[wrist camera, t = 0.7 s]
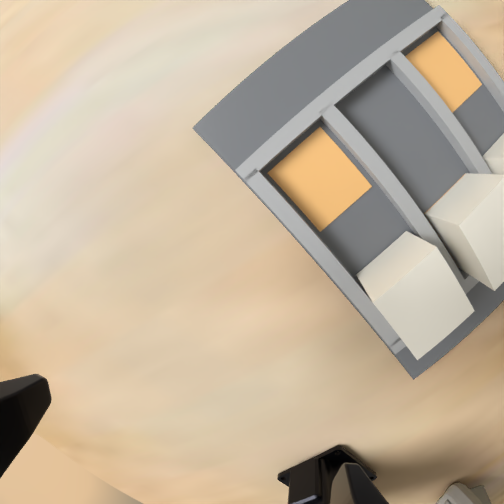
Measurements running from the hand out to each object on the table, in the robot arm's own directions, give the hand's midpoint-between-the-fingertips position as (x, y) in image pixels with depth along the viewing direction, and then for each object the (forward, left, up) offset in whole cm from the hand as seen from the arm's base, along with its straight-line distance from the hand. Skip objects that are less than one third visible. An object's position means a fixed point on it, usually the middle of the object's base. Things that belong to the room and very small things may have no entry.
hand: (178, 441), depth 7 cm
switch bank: (-1, -13, -12) cm, 18 cm away
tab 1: (-5, -8, -11) cm, 14 cm away
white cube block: (-5, -13, -11) cm, 17 cm away
